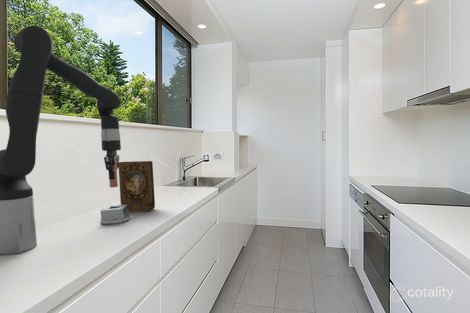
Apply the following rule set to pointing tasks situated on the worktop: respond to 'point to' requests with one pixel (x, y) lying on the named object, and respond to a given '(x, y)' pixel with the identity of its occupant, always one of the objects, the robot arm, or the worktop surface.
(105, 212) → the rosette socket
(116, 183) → the pin
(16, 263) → the worktop surface
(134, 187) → the book
